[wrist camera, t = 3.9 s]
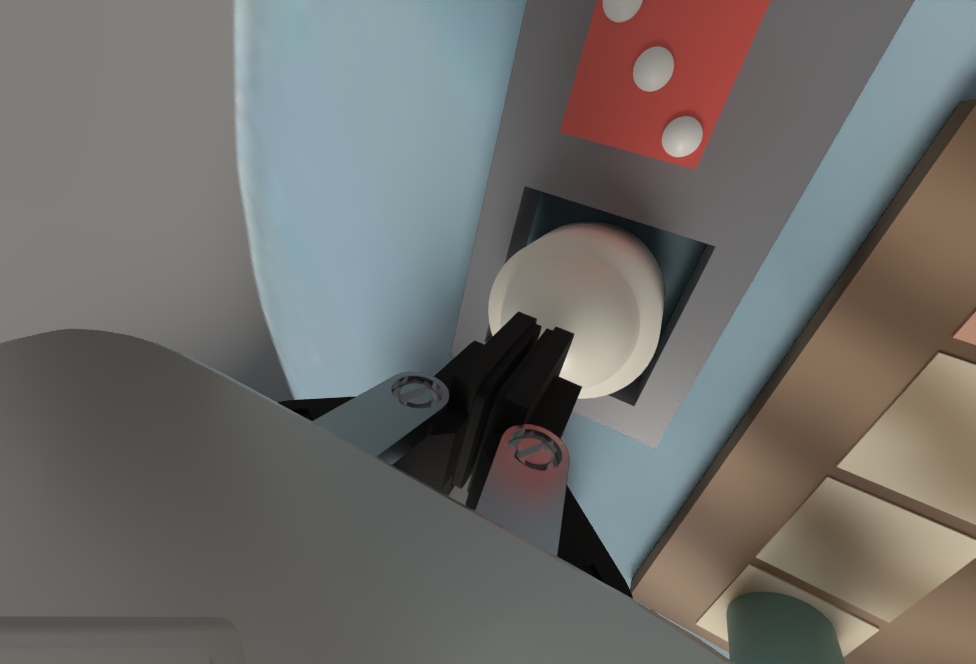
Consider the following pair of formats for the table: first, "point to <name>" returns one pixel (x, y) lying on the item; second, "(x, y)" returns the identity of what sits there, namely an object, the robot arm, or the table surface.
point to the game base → (672, 148)
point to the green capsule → (779, 631)
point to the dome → (588, 300)
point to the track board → (857, 448)
